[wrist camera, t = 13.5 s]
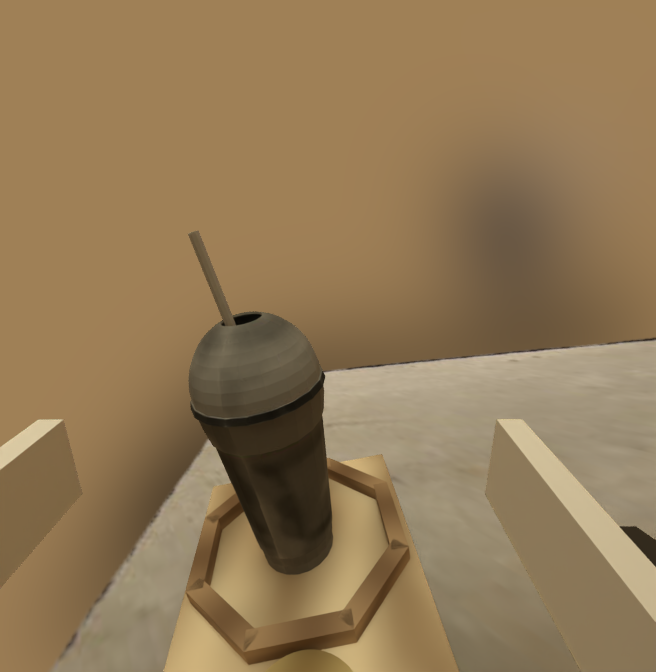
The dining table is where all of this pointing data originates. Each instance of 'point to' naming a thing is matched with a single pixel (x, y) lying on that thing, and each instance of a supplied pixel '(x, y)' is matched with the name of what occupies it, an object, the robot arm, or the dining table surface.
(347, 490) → the board
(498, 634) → the dining table surface
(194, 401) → the beverage cup
